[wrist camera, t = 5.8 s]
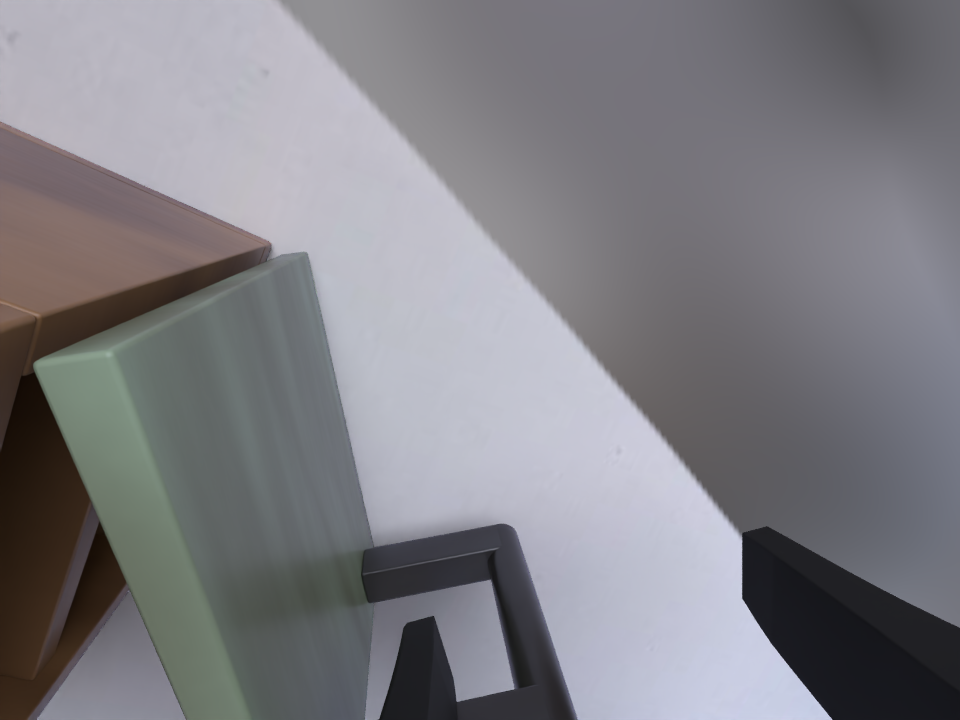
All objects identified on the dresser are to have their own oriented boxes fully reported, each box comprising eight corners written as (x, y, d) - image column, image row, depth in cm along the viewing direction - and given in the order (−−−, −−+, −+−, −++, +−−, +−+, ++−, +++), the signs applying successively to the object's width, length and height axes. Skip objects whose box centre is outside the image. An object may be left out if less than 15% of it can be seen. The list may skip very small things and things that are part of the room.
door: (475, 229, 15) (597, 280, 5) (511, 539, 19) (621, 898, 9) (279, 254, 15) (24, 362, 5) (356, 568, 18) (298, 983, 9)
